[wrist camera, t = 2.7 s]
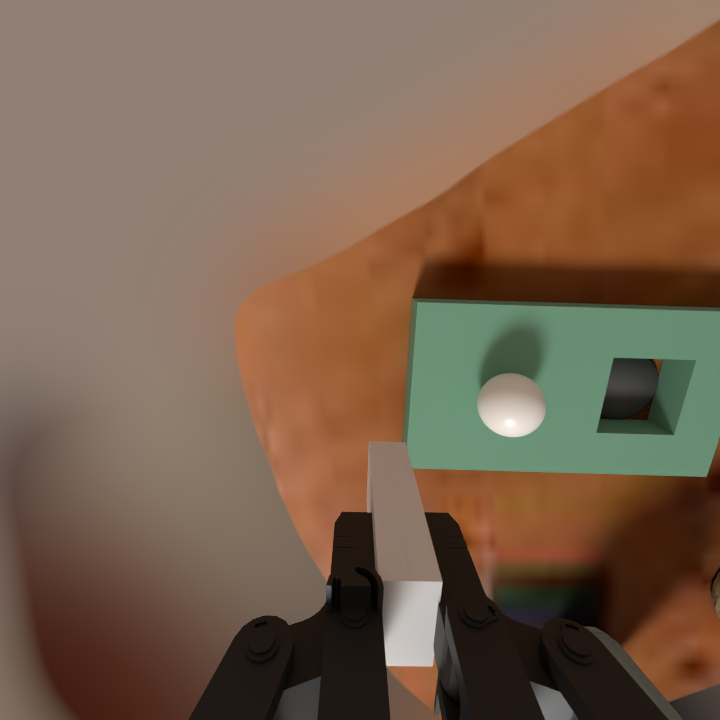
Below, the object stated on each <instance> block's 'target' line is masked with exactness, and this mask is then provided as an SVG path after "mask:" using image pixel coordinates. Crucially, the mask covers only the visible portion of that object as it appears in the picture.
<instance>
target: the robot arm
mask: <svg viewBox="0 0 720 720" xmlns="http://www.w3.org/2000/svg"><path fill="white" fill-rule="evenodd" d="M434 653H435V658H436V663H437V668H438V679H437V687H436V695H435V703H434V715H439V712H440V711H441V716H442V720H669V719H668V718H667V717H666V716H665V715H664V714H663V712H662V711H661V710H660V709H659V708H658V707H657V706H656V704H655V703H654V702H653V701H652V700H651V699H650V697H649V696H648V695H647V694H646V693H645V692H644V691H643V689H642V688H641V687H640V686H639V685H638V684H637V682H636V681H635V680H634V679H633V678H632V677H631V675H630V674H629V673H628V672H627V671H626V670H625V669H624V667H623V666H622V665H621V664H620V663H619V662H618V660H617V659H616V658H615V657H614V656H613V655H612V654H611V652H610V651H609V650H608V649H607V648H606V647H605V645H604V644H603V643H602V642H601V641H600V640H599V639H598V638H597V637H596V636H595V635H594V634H593V633H592V632H591V631H590V630H588V629H587V628H585V627H583V626H582V625H580V624H578V623H577V622H574V621H571V620H568V619H565V618H553V619H551V620H549V621H548V622H546V623H545V625H544V627H543V630H542V629H538V628H535V627H532V626H529V625H526V624H523V623H520V622H517V621H515V620H512V619H510V618H508V617H507V616H505V615H504V614H502V613H501V611H500V610H499V608H498V607H497V605H496V604H495V603H494V602H493V601H491V600H490V599H489V598H488V597H487V596H486V594H485V592H484V590H483V587H482V585H481V582H480V579H479V577H478V574H477V571H476V569H475V566H474V564H473V561H472V558H471V556H470V553H469V551H468V549H467V545H466V543H465V540H464V539H463V535H462V532H461V530H460V527H459V524H458V523H457V522H456V521H455V520H454V519H453V518H452V517H451V516H450V515H449V513H427V512H424V510H423V506H422V502H421V498H420V495H419V491H418V487H417V483H416V480H415V476H414V472H413V468H412V465H411V461H410V457H409V453H408V450H407V446H406V442H369V456H368V481H367V512H342V513H341V514H340V516H339V517H338V519H337V520H336V522H335V527H334V539H333V552H332V564H331V575H330V576H329V578H328V582H327V585H326V603H325V605H324V606H323V607H322V608H321V610H320V611H319V612H318V613H316V614H315V615H314V616H312V617H310V618H308V619H306V620H304V621H301V622H298V623H295V624H292V625H288V624H287V622H286V621H284V620H283V619H281V618H279V617H277V616H262V617H259V618H256V619H253V620H252V621H250V622H249V623H247V624H246V625H244V626H243V627H242V629H241V630H240V631H239V632H238V634H237V635H236V636H235V638H234V639H233V641H232V643H231V645H230V646H229V648H228V650H227V652H226V654H225V655H224V657H223V659H222V661H221V663H220V664H219V667H218V668H217V670H216V672H215V673H214V675H213V677H212V679H211V680H210V682H209V684H208V686H207V688H206V689H205V691H204V693H203V695H202V696H201V698H200V700H199V702H198V704H197V706H196V707H195V709H194V711H193V712H192V714H191V716H190V718H189V720H390V710H389V696H388V684H387V670H386V666H433V659H434Z"/></svg>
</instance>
